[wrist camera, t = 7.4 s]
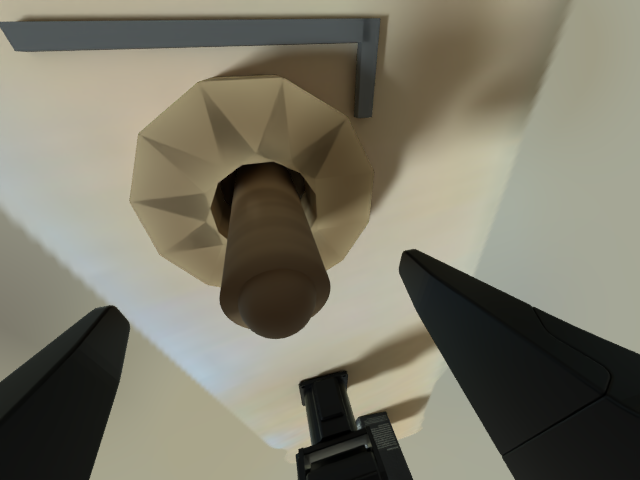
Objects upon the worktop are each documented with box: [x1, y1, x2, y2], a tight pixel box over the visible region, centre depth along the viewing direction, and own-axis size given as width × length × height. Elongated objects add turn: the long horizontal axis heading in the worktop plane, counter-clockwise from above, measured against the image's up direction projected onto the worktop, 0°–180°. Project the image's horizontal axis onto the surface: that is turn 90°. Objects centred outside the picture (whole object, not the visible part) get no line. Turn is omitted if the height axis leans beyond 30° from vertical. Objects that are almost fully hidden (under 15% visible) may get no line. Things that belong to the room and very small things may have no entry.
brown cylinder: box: [220, 162, 330, 339], centre depth 11 cm, size 3×3×10 cm
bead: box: [129, 75, 374, 287], centre depth 13 cm, size 11×11×4 cm
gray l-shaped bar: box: [0, 18, 380, 118], centre depth 11 cm, size 4×14×1 cm, turn 92°
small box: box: [356, 412, 413, 480], centre depth 44 cm, size 11×6×10 cm, turn 167°
